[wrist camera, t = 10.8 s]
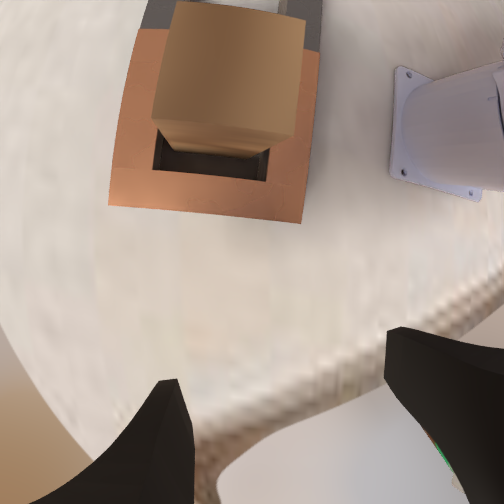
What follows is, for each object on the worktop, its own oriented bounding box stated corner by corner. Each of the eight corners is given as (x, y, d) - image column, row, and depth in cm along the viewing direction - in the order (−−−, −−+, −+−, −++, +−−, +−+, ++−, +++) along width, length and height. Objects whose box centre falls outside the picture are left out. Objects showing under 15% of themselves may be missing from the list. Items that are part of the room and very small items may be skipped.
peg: (255, 92, 16) (305, 20, 8) (246, 159, 17) (293, 135, 9) (185, 83, 16) (176, 0, 7) (174, 151, 16) (150, 117, 8)
